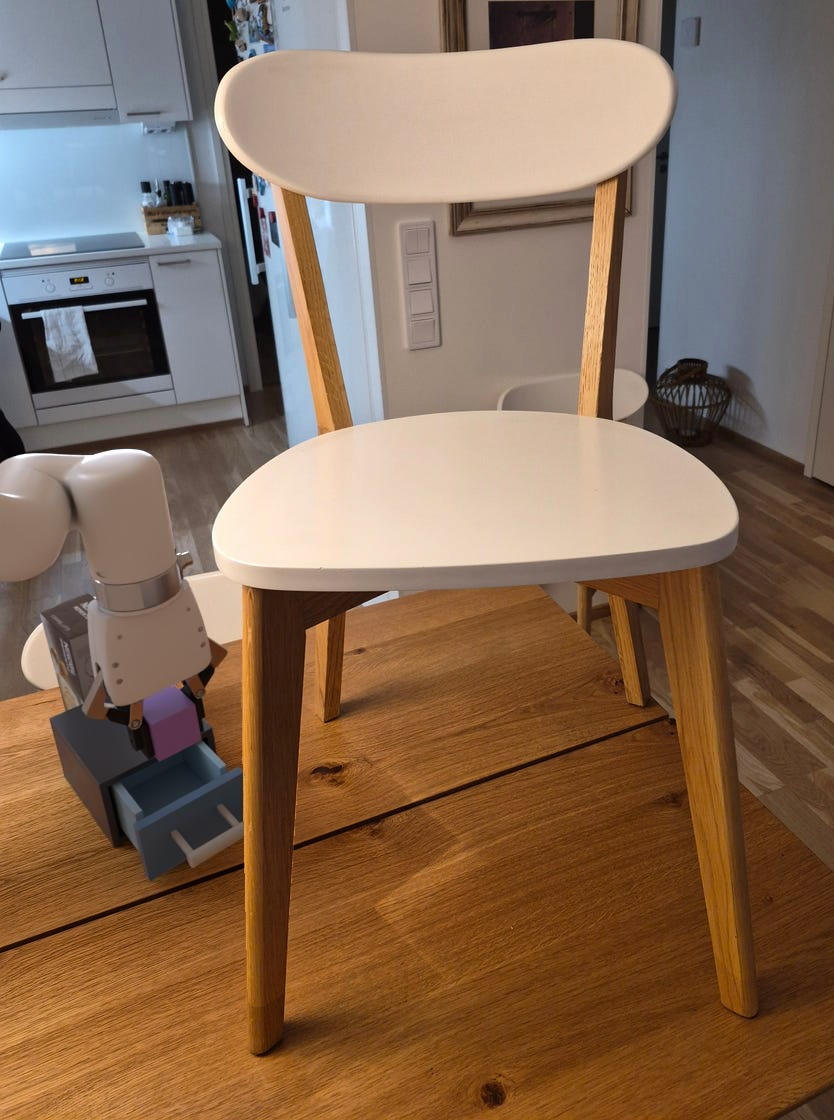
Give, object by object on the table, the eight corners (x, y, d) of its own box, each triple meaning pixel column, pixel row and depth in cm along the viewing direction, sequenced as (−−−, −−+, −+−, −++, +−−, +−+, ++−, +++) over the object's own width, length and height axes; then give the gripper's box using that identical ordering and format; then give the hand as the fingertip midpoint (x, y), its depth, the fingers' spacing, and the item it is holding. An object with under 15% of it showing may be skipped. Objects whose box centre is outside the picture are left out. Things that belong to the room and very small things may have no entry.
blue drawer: (277, 848, 89) (269, 798, 86) (173, 914, 82) (161, 861, 79) (194, 759, 101) (185, 712, 98) (97, 809, 94) (85, 761, 91)
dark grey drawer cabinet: (222, 787, 98) (212, 727, 95) (114, 847, 90) (98, 784, 87) (167, 727, 108) (155, 671, 104) (64, 777, 100) (48, 718, 97)
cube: (159, 762, 83) (151, 725, 81) (139, 740, 86) (131, 704, 84) (202, 740, 86) (195, 704, 84) (181, 719, 89) (174, 684, 87)
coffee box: (145, 725, 108) (122, 617, 102) (95, 751, 104) (69, 640, 98) (112, 695, 114) (88, 591, 108) (63, 718, 110) (36, 611, 103)
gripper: (203, 538, 87) (228, 686, 94) (28, 601, 76) (71, 761, 83) (240, 564, 82) (263, 717, 89) (58, 634, 71) (101, 802, 78)
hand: (170, 737), depth 86 cm, fingers closed on cube, 4 cm apart
